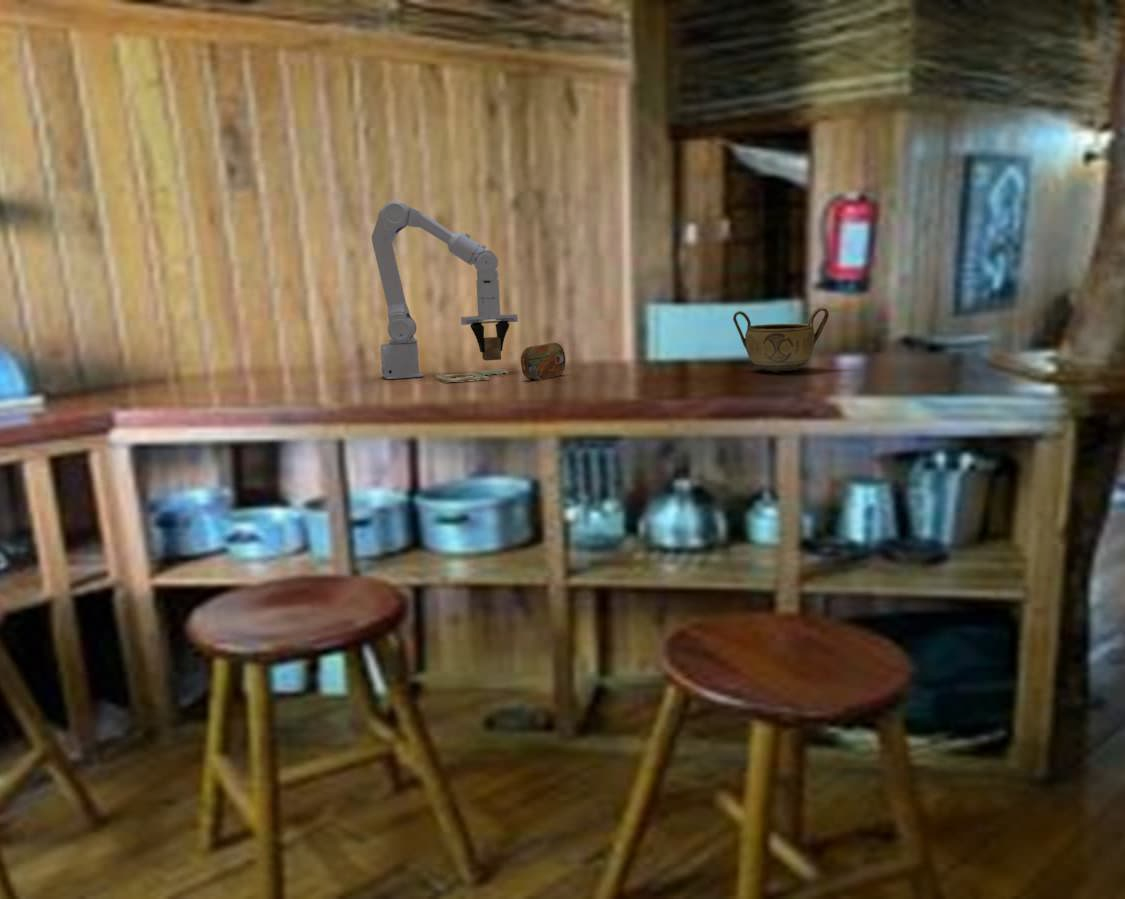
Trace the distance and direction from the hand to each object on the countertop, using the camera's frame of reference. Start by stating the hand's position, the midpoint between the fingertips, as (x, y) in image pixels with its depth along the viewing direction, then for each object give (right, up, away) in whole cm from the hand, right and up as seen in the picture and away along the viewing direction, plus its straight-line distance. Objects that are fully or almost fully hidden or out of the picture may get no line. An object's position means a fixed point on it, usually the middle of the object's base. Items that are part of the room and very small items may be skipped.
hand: (491, 351), depth 255 cm
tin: (+14, -8, -13) cm, 20 cm away
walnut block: (0, -2, 0) cm, 2 cm away
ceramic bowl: (+71, -7, -17) cm, 73 cm away
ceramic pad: (0, -6, +1) cm, 6 cm away
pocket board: (-7, -8, -10) cm, 14 cm away
